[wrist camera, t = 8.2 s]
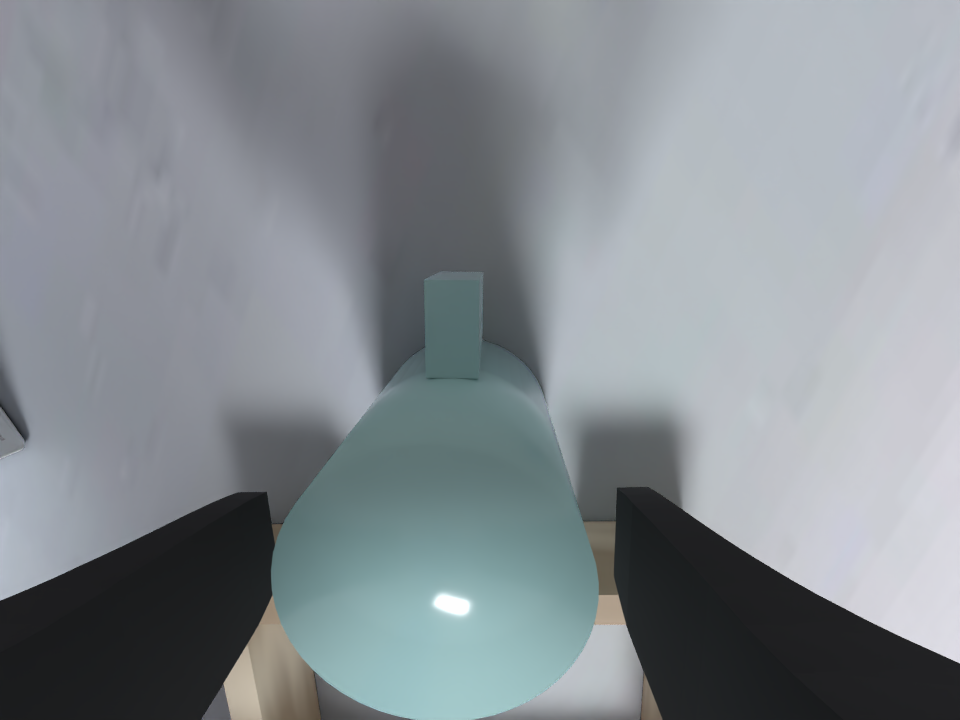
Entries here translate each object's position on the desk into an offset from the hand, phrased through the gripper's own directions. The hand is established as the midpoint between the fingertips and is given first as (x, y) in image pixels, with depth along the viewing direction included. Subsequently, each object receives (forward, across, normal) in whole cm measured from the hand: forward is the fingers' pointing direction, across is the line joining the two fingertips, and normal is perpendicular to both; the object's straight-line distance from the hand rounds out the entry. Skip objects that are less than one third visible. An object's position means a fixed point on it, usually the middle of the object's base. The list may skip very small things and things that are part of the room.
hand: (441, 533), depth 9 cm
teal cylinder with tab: (+6, 0, -1) cm, 6 cm away
